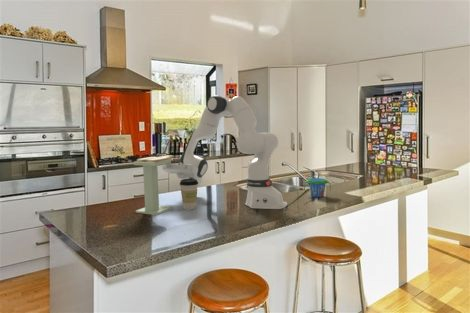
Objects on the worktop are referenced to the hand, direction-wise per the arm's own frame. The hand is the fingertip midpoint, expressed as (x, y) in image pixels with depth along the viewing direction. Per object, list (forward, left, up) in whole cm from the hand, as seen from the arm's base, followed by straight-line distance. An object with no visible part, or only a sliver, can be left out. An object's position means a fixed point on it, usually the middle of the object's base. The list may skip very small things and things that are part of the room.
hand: (172, 163), depth 208 cm
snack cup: (-71, -45, -23) cm, 87 cm away
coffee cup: (-15, +6, -23) cm, 28 cm away
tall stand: (0, +17, -23) cm, 28 cm away
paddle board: (0, +12, +3) cm, 12 cm away
